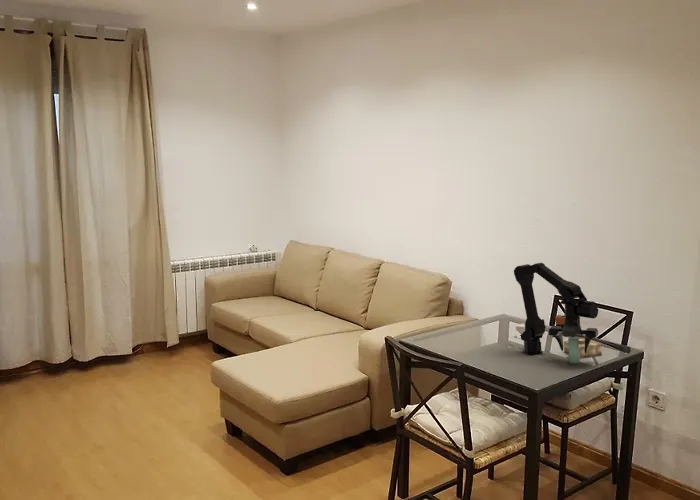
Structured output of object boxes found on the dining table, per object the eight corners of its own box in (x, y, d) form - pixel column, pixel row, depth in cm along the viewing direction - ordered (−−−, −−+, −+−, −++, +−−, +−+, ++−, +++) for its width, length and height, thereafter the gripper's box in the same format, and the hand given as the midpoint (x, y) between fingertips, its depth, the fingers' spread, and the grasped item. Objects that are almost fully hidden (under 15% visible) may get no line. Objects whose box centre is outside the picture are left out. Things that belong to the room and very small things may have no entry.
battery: (571, 335, 295) (570, 315, 294) (556, 336, 297) (555, 315, 296) (570, 333, 299) (569, 313, 298) (556, 333, 301) (555, 313, 300)
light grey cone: (533, 336, 299) (533, 324, 298) (527, 339, 295) (526, 327, 294) (522, 335, 303) (522, 323, 303) (516, 337, 299) (515, 325, 299)
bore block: (578, 358, 259) (578, 347, 258) (564, 352, 269) (563, 341, 269) (601, 355, 261) (601, 343, 260) (586, 349, 272) (585, 338, 271)
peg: (572, 363, 252) (571, 340, 251) (567, 361, 256) (566, 338, 255) (581, 362, 253) (580, 339, 252) (575, 360, 257) (575, 336, 256)
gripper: (544, 318, 251) (546, 355, 253) (592, 320, 241) (593, 359, 243) (551, 312, 260) (552, 348, 262) (597, 314, 250) (599, 351, 252)
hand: (573, 351), depth 254 cm, fingers open, 9 cm apart
